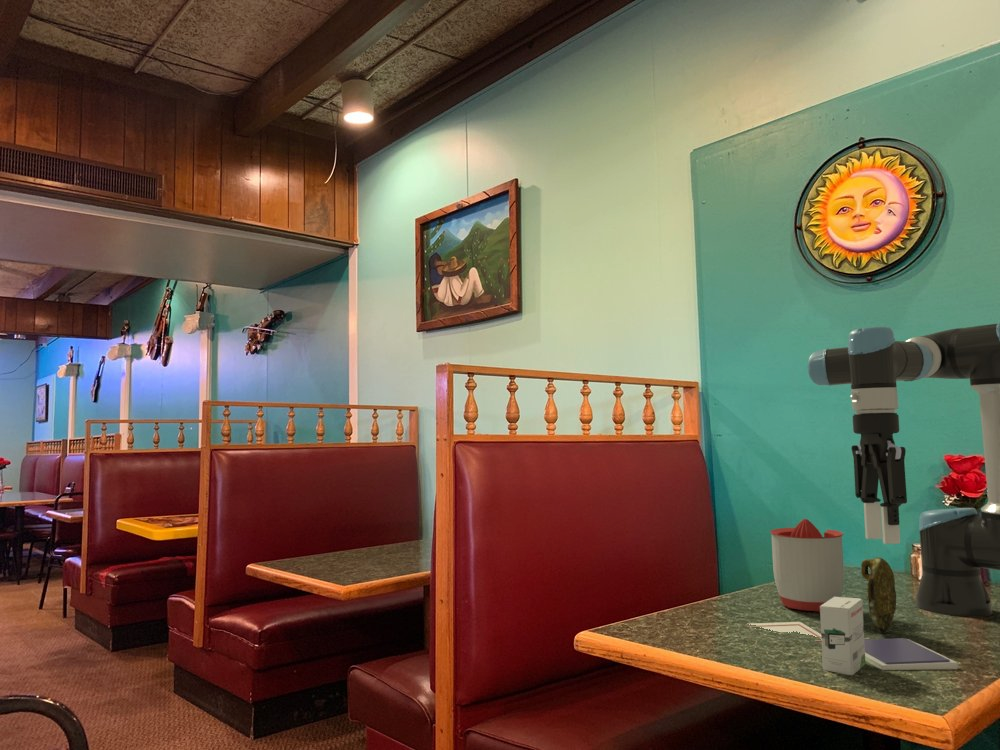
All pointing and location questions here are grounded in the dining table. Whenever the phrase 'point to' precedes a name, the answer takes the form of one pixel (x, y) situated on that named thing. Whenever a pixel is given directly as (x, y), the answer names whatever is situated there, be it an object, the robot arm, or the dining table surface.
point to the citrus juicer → (807, 565)
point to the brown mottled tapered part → (880, 592)
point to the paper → (788, 628)
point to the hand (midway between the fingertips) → (882, 540)
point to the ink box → (842, 635)
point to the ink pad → (904, 655)
